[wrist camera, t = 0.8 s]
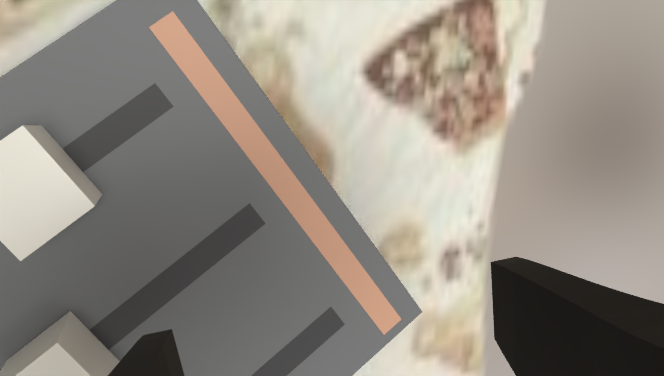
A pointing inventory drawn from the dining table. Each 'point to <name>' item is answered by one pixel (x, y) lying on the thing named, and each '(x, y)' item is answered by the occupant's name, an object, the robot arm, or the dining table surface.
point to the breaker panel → (190, 209)
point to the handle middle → (62, 353)
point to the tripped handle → (39, 190)
